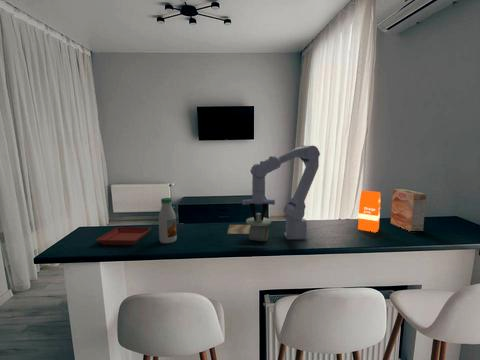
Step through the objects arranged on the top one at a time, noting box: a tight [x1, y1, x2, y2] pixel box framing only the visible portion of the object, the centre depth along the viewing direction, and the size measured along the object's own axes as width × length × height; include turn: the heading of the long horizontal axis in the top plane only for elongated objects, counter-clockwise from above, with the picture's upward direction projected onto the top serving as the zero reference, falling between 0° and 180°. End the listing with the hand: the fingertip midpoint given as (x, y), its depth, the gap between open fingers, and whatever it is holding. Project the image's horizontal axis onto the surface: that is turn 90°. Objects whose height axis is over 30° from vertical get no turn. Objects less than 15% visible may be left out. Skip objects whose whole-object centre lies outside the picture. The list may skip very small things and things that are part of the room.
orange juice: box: [357, 190, 381, 233], centre depth 131 cm, size 8×9×20 cm
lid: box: [245, 212, 272, 226], centre depth 116 cm, size 12×12×4 cm
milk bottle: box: [158, 197, 178, 244], centre depth 116 cm, size 8×8×20 cm
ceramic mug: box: [248, 225, 270, 242], centre depth 118 cm, size 11×8×8 cm
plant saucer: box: [96, 226, 152, 246], centre depth 120 cm, size 18×18×3 cm
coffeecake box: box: [390, 188, 427, 232], centre depth 133 cm, size 15×7×20 cm, turn 6°
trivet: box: [227, 224, 251, 235], centre depth 130 cm, size 14×14×1 cm
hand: (258, 219), depth 116 cm, fingers closed on lid, 3 cm apart
